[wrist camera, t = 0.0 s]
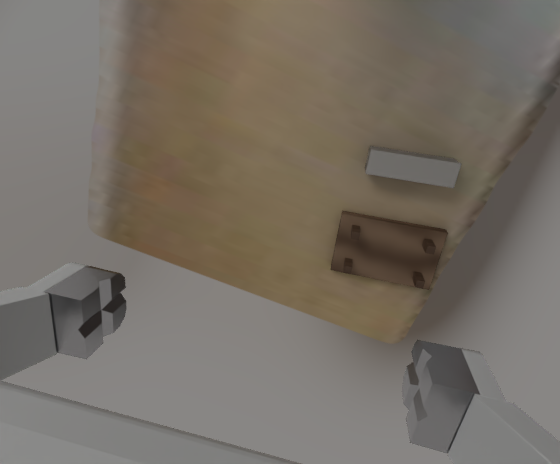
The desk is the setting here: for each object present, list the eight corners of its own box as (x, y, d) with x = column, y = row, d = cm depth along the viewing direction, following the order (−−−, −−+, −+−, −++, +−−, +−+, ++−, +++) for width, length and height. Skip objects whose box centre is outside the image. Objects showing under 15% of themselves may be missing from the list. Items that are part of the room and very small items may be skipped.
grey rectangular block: (369, 145, 54) (370, 149, 50) (453, 158, 52) (461, 163, 48) (364, 167, 55) (365, 173, 51) (446, 181, 53) (453, 188, 49)
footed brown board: (342, 210, 58) (341, 219, 54) (445, 229, 56) (452, 240, 52) (331, 265, 62) (329, 278, 57) (427, 285, 59) (432, 299, 55)
